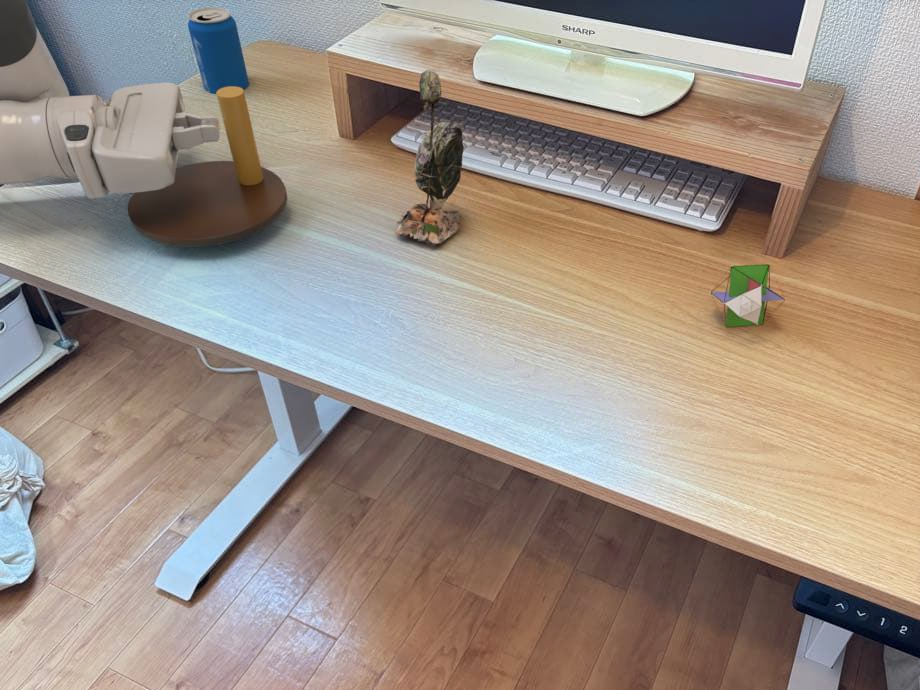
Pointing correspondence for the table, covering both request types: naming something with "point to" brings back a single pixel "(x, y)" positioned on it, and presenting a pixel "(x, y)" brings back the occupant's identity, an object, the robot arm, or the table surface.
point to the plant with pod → (434, 173)
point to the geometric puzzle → (747, 295)
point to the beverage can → (217, 49)
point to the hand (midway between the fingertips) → (218, 128)
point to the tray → (214, 191)
